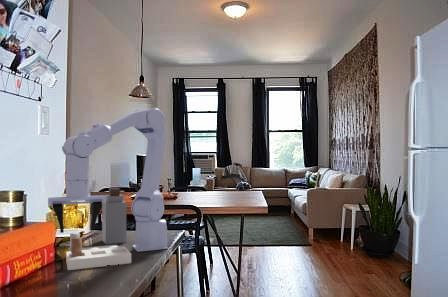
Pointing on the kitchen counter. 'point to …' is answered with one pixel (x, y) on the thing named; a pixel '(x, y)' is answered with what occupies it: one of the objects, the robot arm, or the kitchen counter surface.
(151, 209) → the robot arm
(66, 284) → the kitchen counter surface
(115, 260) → the peg board
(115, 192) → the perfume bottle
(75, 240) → the terracotta pin
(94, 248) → the studded grey block
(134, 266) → the kitchen counter surface
